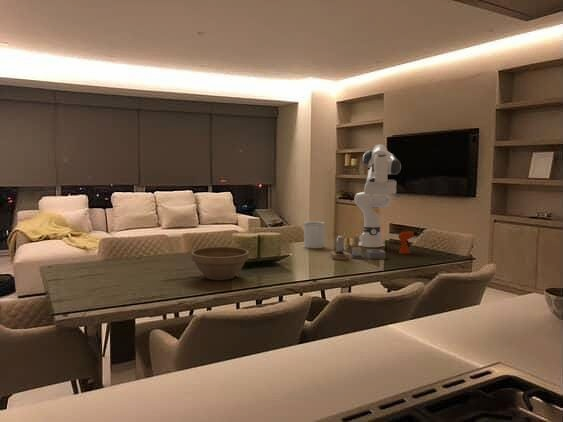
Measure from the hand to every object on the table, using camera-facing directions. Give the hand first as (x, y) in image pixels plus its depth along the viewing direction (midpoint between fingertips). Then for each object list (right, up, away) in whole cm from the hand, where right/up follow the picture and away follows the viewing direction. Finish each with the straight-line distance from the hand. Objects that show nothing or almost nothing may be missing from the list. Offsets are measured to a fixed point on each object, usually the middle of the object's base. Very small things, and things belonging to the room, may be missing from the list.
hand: (379, 201), depth 294 cm
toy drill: (+22, -34, +9) cm, 42 cm away
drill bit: (-27, -36, -11) cm, 46 cm away
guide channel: (-16, -35, -5) cm, 39 cm away
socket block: (-4, -35, -8) cm, 36 cm away
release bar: (-16, -35, -8) cm, 40 cm away
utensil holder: (-40, -32, +31) cm, 60 cm away
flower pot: (-94, -40, -64) cm, 120 cm away
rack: (-27, -35, -11) cm, 46 cm away
